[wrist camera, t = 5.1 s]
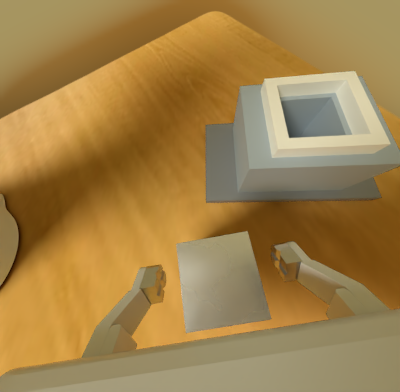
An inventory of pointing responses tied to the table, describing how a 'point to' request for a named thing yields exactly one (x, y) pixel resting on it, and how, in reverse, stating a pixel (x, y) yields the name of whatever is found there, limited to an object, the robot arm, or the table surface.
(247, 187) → the block
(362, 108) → the frame
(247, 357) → the robot arm
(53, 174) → the table surface
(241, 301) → the shaft
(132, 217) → the table surface
